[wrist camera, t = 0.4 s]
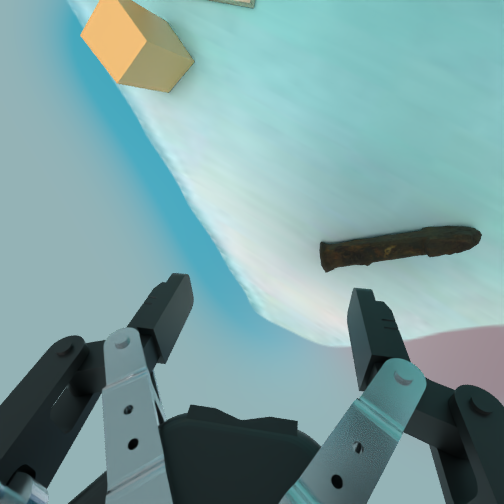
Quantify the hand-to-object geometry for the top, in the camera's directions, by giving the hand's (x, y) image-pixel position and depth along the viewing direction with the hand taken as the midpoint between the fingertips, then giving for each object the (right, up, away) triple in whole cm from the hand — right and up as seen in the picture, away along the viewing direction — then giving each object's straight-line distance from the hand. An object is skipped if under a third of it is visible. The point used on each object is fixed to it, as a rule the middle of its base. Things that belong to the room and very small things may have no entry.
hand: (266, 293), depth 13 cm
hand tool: (+18, +4, +24) cm, 31 cm away
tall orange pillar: (-12, +27, +22) cm, 37 cm away
